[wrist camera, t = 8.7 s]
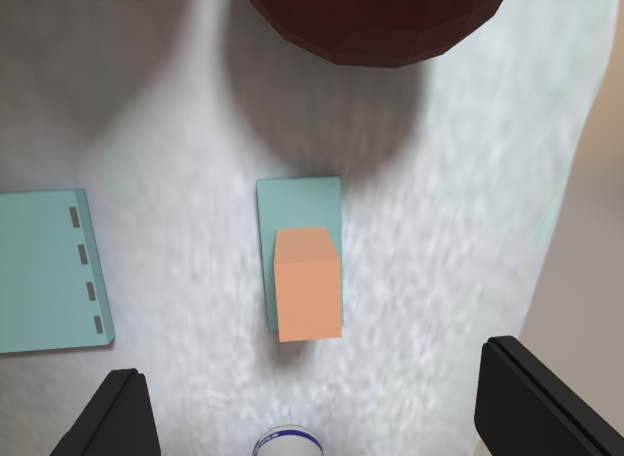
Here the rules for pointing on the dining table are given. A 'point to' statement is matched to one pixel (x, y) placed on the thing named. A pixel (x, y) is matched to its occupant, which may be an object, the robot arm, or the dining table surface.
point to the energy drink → (288, 442)
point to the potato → (376, 27)
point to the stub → (302, 256)
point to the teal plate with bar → (50, 273)
